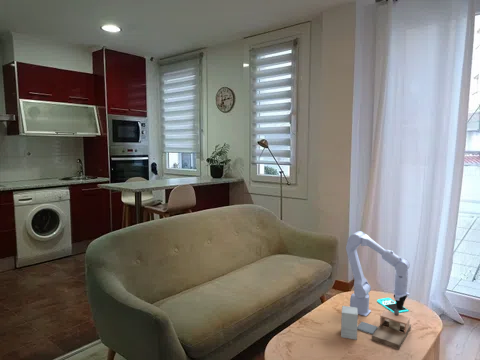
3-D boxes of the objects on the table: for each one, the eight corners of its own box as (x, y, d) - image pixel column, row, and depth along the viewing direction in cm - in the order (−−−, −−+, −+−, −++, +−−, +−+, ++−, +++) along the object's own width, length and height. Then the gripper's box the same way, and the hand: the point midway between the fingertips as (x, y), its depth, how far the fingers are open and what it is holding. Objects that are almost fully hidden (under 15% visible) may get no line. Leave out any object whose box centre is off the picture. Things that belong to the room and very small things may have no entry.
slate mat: (356, 329, 168) (356, 327, 168) (361, 322, 174) (361, 321, 174) (372, 334, 163) (372, 333, 163) (377, 327, 169) (377, 326, 169)
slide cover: (379, 324, 168) (380, 310, 167) (383, 319, 173) (384, 305, 172) (405, 333, 160) (406, 318, 160) (409, 327, 166) (410, 313, 165)
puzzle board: (371, 339, 159) (372, 335, 159) (385, 320, 176) (385, 316, 176) (399, 349, 152) (399, 345, 152) (410, 328, 169) (411, 324, 169)
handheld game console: (389, 299, 201) (389, 297, 201) (409, 312, 186) (409, 309, 186) (375, 301, 198) (375, 299, 198) (394, 314, 183) (394, 312, 183)
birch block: (388, 330, 167) (389, 319, 166) (391, 327, 170) (391, 315, 169) (397, 333, 164) (398, 321, 164) (399, 330, 167) (400, 318, 167)
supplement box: (356, 332, 165) (358, 307, 164) (356, 340, 159) (358, 314, 157) (341, 329, 168) (342, 305, 166) (340, 337, 161) (341, 312, 159)
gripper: (406, 290, 163) (404, 316, 165) (413, 280, 174) (411, 305, 176) (390, 286, 168) (389, 312, 169) (398, 277, 179) (397, 301, 180)
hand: (399, 308), depth 173 cm, fingers closed
